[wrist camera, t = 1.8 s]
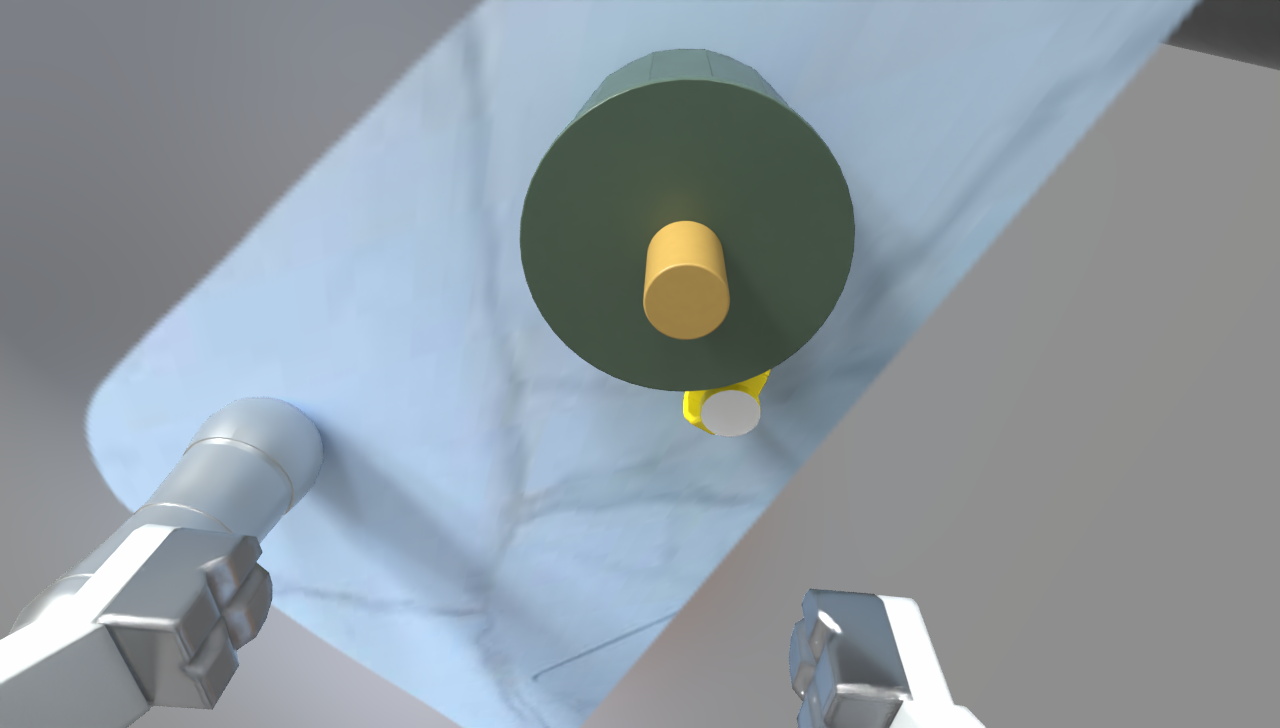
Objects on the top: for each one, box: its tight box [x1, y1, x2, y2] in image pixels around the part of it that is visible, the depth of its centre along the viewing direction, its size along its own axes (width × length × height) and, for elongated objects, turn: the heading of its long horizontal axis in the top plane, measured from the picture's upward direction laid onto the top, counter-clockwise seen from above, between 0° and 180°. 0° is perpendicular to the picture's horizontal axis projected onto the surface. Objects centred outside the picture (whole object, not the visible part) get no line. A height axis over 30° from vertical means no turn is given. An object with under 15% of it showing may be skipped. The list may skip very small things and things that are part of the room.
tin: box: [575, 49, 788, 118], centre depth 27 cm, size 11×11×8 cm
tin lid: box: [520, 75, 855, 391], centre depth 22 cm, size 11×11×5 cm
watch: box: [683, 369, 771, 437], centre depth 33 cm, size 6×3×6 cm, turn 149°
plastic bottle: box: [8, 397, 324, 708], centre depth 31 cm, size 6×7×20 cm
